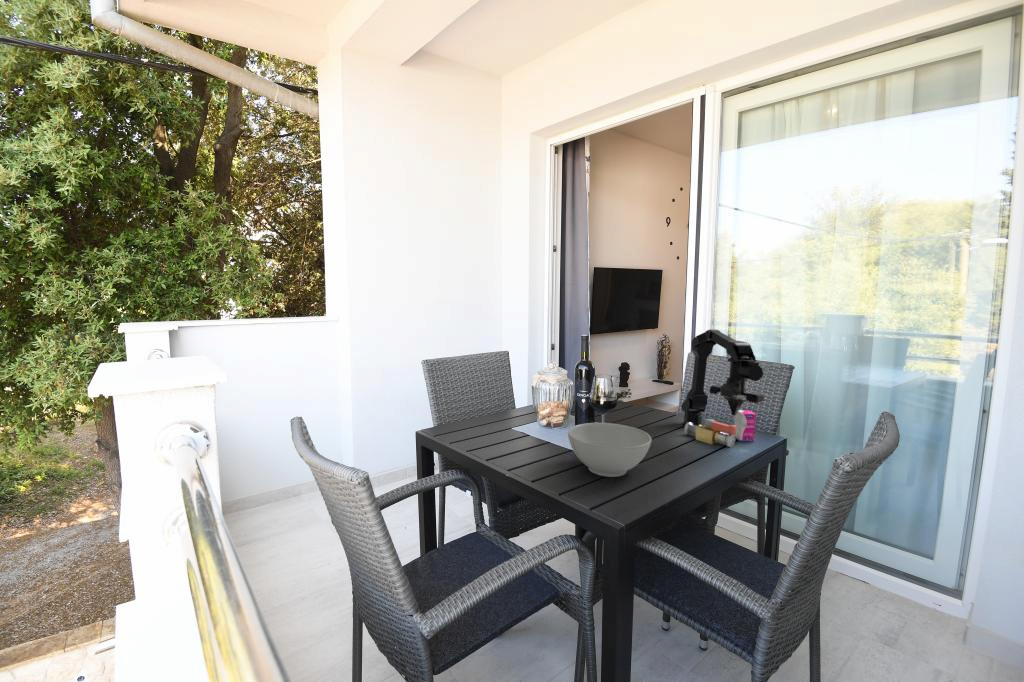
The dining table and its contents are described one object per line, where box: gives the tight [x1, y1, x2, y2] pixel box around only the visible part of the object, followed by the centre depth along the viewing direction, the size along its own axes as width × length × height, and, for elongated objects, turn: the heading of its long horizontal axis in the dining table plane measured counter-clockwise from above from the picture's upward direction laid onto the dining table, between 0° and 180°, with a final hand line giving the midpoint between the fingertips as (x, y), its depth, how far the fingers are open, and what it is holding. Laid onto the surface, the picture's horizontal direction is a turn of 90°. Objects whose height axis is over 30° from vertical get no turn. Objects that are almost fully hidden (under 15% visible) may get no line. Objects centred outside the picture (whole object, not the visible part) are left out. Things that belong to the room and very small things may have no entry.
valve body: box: [683, 422, 736, 448], centre depth 194 cm, size 19×7×5 cm, turn 36°
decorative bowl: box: [567, 422, 652, 478], centre depth 160 cm, size 27×27×12 cm
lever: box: [704, 418, 736, 434], centre depth 190 cm, size 13×4×3 cm, turn 35°
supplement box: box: [733, 409, 757, 442], centre depth 197 cm, size 6×6×12 cm
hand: (733, 415), depth 187 cm, fingers closed
